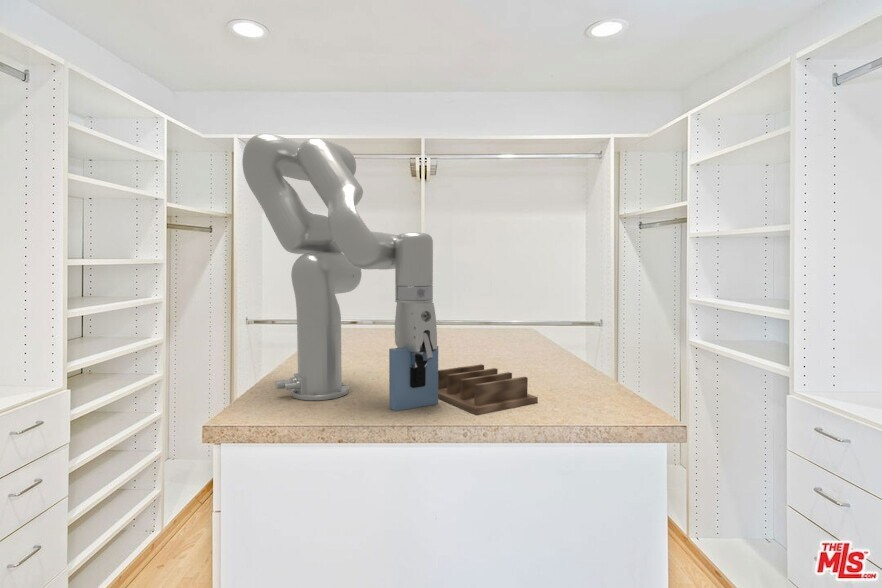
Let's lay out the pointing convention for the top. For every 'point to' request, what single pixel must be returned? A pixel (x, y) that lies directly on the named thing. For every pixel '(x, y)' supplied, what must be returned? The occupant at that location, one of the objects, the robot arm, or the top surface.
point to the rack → (482, 389)
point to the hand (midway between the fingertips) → (414, 384)
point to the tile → (400, 381)
